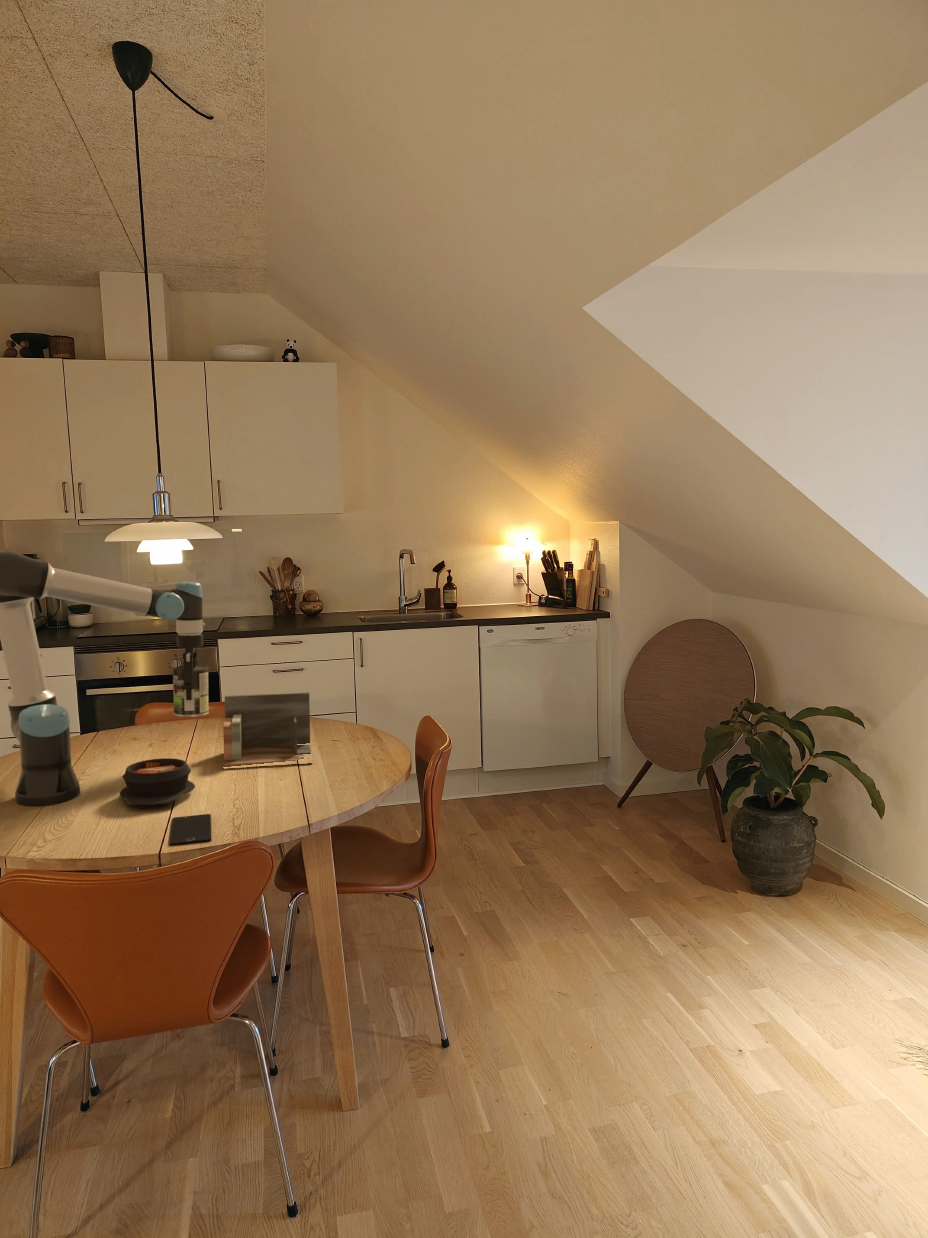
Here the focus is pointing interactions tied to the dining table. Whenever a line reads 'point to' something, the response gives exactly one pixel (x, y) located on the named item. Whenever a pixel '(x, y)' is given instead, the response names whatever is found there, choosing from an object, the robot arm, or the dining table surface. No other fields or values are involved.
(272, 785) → the dining table surface
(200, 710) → the coffee can
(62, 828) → the dining table surface
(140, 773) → the casserole
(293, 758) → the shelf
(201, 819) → the cell phone
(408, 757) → the dining table surface
